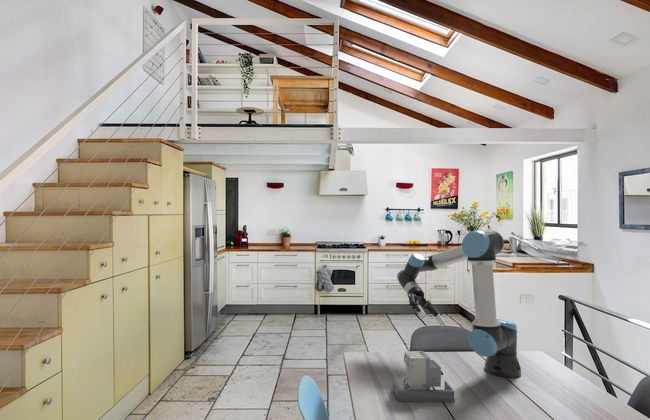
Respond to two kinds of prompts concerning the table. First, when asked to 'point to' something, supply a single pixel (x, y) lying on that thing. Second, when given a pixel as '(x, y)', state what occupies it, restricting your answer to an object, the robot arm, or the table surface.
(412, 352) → the circuit breaker
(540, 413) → the table surface
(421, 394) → the grey u-shaped bracket
